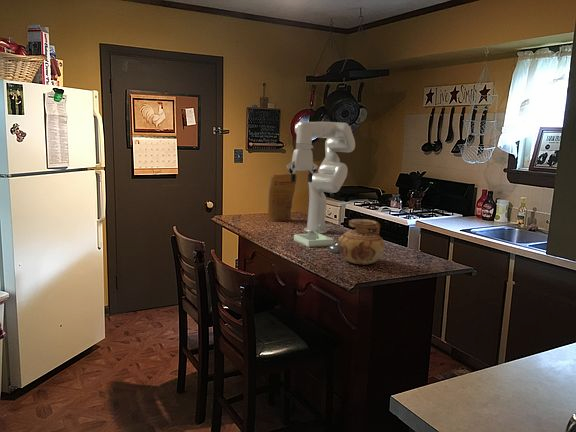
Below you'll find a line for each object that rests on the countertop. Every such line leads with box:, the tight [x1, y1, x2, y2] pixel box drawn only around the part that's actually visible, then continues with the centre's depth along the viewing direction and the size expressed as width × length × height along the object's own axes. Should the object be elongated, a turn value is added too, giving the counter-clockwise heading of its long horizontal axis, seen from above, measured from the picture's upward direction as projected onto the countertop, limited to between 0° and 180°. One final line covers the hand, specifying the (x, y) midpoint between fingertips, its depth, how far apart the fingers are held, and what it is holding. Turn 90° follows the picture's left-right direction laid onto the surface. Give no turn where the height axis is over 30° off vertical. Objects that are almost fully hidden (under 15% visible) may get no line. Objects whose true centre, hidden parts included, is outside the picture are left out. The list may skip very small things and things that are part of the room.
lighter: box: [306, 225, 322, 240], centre depth 234 cm, size 7×2×8 cm, turn 115°
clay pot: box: [337, 218, 385, 266], centre depth 203 cm, size 19×19×20 cm
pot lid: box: [328, 242, 341, 255], centre depth 220 cm, size 8×8×4 cm
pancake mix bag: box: [266, 173, 298, 222], centre depth 286 cm, size 7×19×28 cm, turn 120°
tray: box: [293, 233, 335, 248], centre depth 234 cm, size 14×14×3 cm
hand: (301, 182), depth 239 cm, fingers open, 9 cm apart
